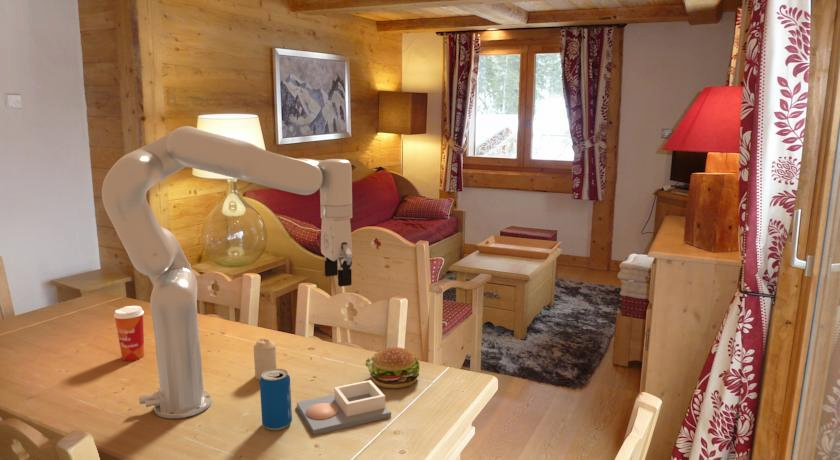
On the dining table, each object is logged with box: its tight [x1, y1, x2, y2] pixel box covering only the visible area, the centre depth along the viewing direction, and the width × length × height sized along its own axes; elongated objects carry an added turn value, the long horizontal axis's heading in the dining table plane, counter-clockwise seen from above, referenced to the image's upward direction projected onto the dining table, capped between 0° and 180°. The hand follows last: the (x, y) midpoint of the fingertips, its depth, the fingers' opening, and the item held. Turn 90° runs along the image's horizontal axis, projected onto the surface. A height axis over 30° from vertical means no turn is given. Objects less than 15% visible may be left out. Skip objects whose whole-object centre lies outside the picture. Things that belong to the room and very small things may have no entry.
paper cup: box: [113, 305, 145, 362], centre depth 173 cm, size 8×8×14 cm
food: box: [365, 346, 420, 389], centre depth 159 cm, size 14×14×8 cm
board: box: [296, 379, 392, 436], centre depth 143 cm, size 18×14×4 cm
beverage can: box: [259, 368, 293, 431], centre depth 136 cm, size 6×6×12 cm
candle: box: [253, 338, 278, 381], centre depth 161 cm, size 6×6×10 cm
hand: (337, 280), depth 151 cm, fingers open, 9 cm apart
